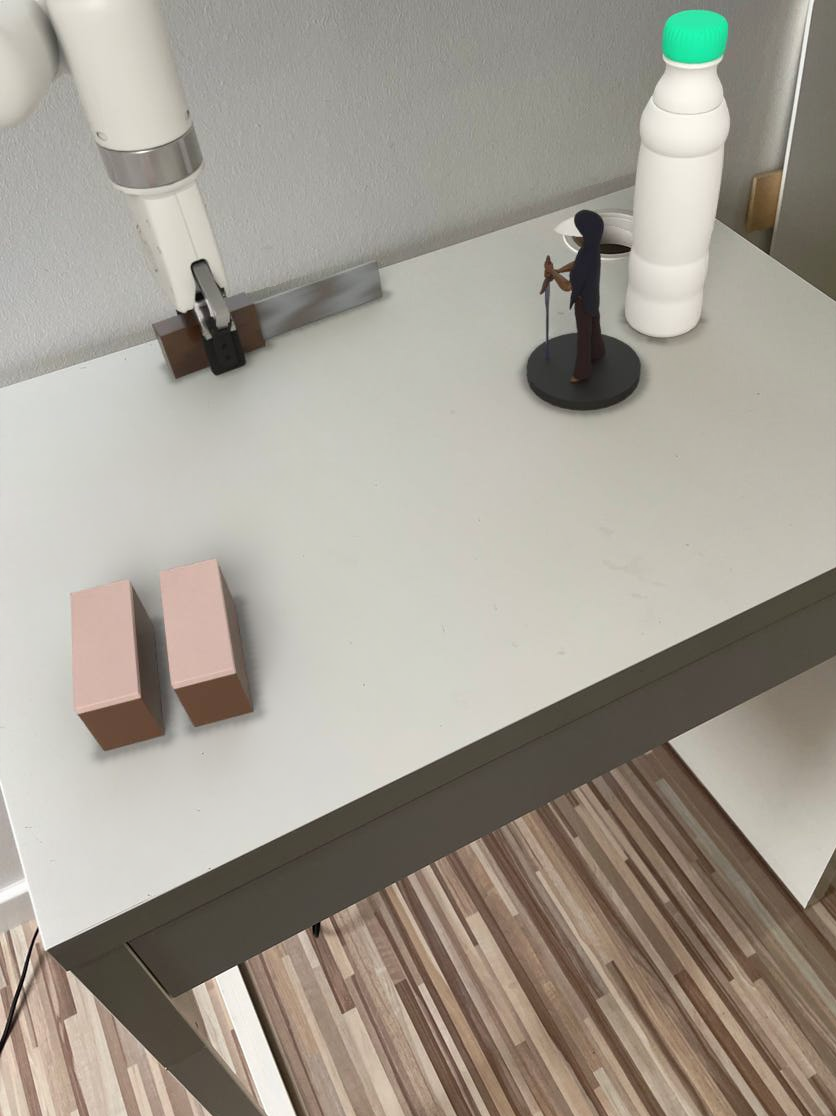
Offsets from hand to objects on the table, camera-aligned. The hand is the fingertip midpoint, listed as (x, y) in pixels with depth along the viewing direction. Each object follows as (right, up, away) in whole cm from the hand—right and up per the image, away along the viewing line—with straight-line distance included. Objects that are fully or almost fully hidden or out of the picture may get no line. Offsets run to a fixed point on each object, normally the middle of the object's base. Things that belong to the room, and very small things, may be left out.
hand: (213, 345), depth 87 cm
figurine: (+34, -4, -4) cm, 35 cm away
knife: (+6, +2, +3) cm, 7 cm away
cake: (+3, -30, -22) cm, 37 cm away
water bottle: (+42, +3, +1) cm, 42 cm away
